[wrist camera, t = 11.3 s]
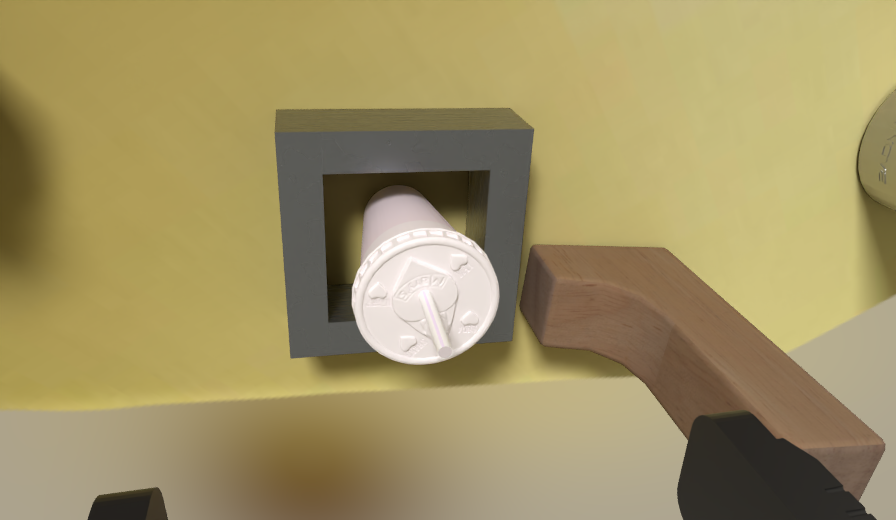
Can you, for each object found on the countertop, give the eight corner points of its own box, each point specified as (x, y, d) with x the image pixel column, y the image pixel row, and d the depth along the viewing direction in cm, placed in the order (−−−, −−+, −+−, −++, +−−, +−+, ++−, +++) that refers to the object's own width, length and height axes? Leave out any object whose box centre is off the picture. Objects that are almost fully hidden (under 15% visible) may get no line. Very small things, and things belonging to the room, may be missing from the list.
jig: (510, 108, 36) (534, 128, 32) (493, 304, 41) (512, 340, 38) (276, 109, 33) (274, 132, 30) (290, 318, 39) (290, 358, 35)
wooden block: (516, 308, 42) (654, 546, 26) (529, 241, 40) (686, 455, 24) (648, 308, 44) (850, 528, 28) (666, 245, 42) (894, 443, 26)
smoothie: (434, 143, 36) (509, 261, 24) (467, 245, 39) (549, 395, 27) (320, 185, 35) (335, 327, 23) (363, 284, 39) (396, 454, 26)
